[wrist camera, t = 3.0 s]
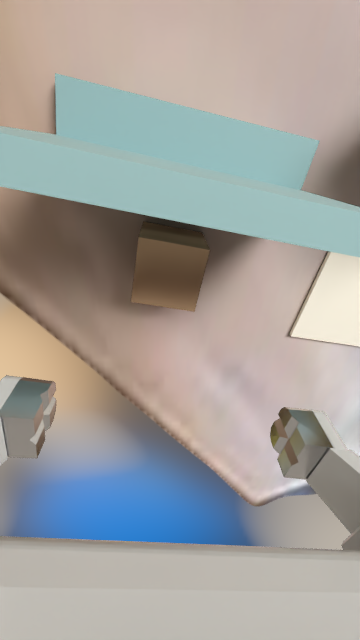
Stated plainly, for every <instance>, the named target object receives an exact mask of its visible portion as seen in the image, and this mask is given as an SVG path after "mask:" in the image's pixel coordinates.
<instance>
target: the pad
mask: <svg viewBox="0 0 360 640" xmlns="http://www.w3.org/2000/svg"><path fill="white" fill-rule="evenodd" d="M290 336H292V337H299V338H306V339H313V340H319V341H326V342H333V343H339V344H346V345H353V346H359V347H360V257H355V256H350V255H345V254H340V253H335V252H329V251H328V253H327V255H326V257H325V260H324V262H323V264H322V266H321V268H320V270H319V272H318V274H317V277H316V279H315V281H314V283H313V285H312V287H311V289H310V291H309V293H308V296H307V298H306V300H305V302H304V304H303V306H302V308H301V310H300V312H299V315H298V317H297V319H296V321H295V323H294V325H293V327H292V329H291V332H290Z"/></svg>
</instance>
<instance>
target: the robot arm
mask: <svg viewBox="0 0 360 640" xmlns="http://www.w3.org/2000/svg"><path fill="white" fill-rule="evenodd" d="M55 391H56V385H55V382H53V381H46V380H39V379H32V378H24V377H23V378H22V377H14V376H7V375H6V376H5V377H3V378H2V379H1V381H0V465H1V464H2V463H4V462H5V461H6V460H7V459H8V457H19V458H37V457H38V455H39V453H40V450H41V448H42V446H43V443H44V441H45V431H46V430H48V429H49V428H50V426H51V424H52V422H53V419H54V415H55V411H56V399H55V398H54V397H53V395H54V393H55ZM278 415H279V417H280V419H278V420H276V421H275V422H274V423H273V425H272V427H271V433H270V437H271V443H272V446H273V448H274V449H275V450H276V451H277V452H278V453H279V456H278V459H277V460H278V462H279V465H280V468H281V470H282V473H283V476H284V477H287V478H297V479H306V481H307V482H308V484H309V485H310V486H311V487H312V488H313V490H314V491H315V492H316V493H317V494H318V495H319V497H320V498H321V499H322V500H323V501H324V503H325V504H326V505H327V506H328V507H329V508H330V510H331V511H332V512H333V513H334V514H335V515H336V517H337V518H338V519H339V520H340V521H341V523H342V524H343V525H344V526H345V527H346V528H347V530H348V531H349V532H350V533H351V535H350V536H349V537H348V538H347V539H346V540H344V541H343V543H342V548H343V550H332V549H307V548H282V547H257V546H232V545H231V546H230V545H207V544H206V545H205V544H183V543H181V544H180V543H156V542H132V541H106V540H82V539H56V538H31V537H5V536H0V640H360V456H358V455H357V454H356V453H355V452H353V451H352V450H348V449H347V447H346V446H345V444H344V443H343V441H342V439H341V438H340V436H339V434H338V433H337V431H336V430H335V428H334V426H333V425H332V423H331V421H330V420H329V418H328V417H327V415H326V414H325V413H324V412H323V411H318V410H307V409H298V408H288V407H284V408H282V409H281V410H280V412H279V414H278Z"/></svg>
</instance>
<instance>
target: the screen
mask: <svg viewBox="0 0 360 640" xmlns="http://www.w3.org/2000/svg"><path fill="white" fill-rule="evenodd" d="M55 92H56V135H55V134H49V133H42V132H36V131H29V130H23V129H16V128H10V127H3V126H0V186H1V187H6V188H11V189H16V190H21V191H26V192H31V193H36V194H41V195H46V196H51V197H56V198H61V199H66V200H71V201H77V202H82V203H87V204H92V205H97V206H102V207H107V208H112V209H117V210H122V211H127V212H132V213H137V214H142V215H147V216H152V217H157V218H163V219H168V220H173V221H178V222H183V223H188V224H193V225H198V226H203V227H208V228H213V229H218V230H223V231H228V232H233V233H238V234H243V235H249V236H254V237H259V238H264V239H269V240H274V241H279V242H284V243H289V244H294V245H299V246H304V247H309V248H314V249H319V250H324V251H329V252H335V253H340V254H345V255H350V256H355V257H360V207H358V206H354V205H351V204H347V203H344V202H340V201H337V200H333V199H330V198H326V197H323V196H319V195H316V194H312V193H309V192H306V191H302V190H301V188H302V186H303V183H304V180H305V178H306V175H307V172H308V170H309V167H310V165H311V162H312V159H313V157H314V154H315V151H316V149H317V146H318V144H319V141H318V140H314V139H310V138H306V137H303V136H299V135H295V134H291V133H287V132H283V131H279V130H275V129H271V128H267V127H263V126H259V125H256V124H252V123H248V122H244V121H240V120H236V119H232V118H228V117H224V116H220V115H216V114H213V113H209V112H205V111H201V110H197V109H193V108H189V107H185V106H181V105H177V104H173V103H169V102H166V101H162V100H158V99H154V98H150V97H146V96H142V95H138V94H134V93H130V92H126V91H122V90H119V89H115V88H111V87H107V86H103V85H99V84H95V83H91V82H87V81H83V80H79V79H75V78H72V77H68V76H64V75H60V74H56V73H55Z"/></svg>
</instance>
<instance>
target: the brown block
mask: <svg viewBox="0 0 360 640" xmlns="http://www.w3.org/2000/svg"><path fill="white" fill-rule="evenodd" d="M209 252H210V249H209V247H208V244H207V242H206V240H205V238H204V235H203V233H201V232H196V231H191V230H186V229H181V228H175V227H170V226H165V225H160V224H155V223H149V222H143V225H142V228H141V231H140V234H139V238H138V246H137V254H136V262H135V271H134V279H133V287H132V295H131V302H135V303H141V304H148V305H154V306H161V307H167V308H174V309H180V310H187V311H193V312H194V311H195V307H196V303H197V299H198V296H199V292H200V288H201V284H202V280H203V276H204V272H205V268H206V264H207V260H208V256H209Z"/></svg>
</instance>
